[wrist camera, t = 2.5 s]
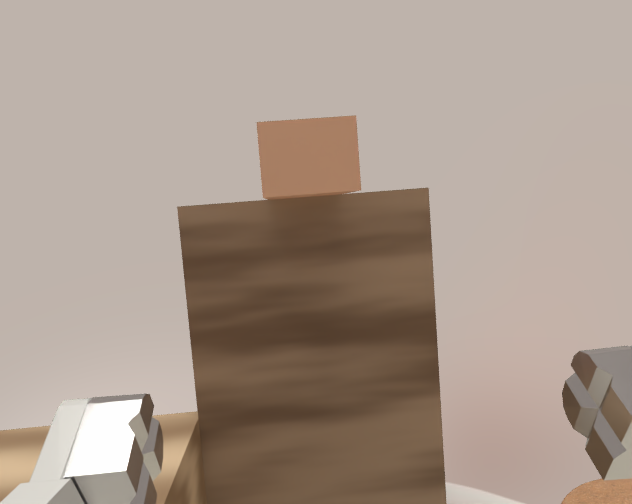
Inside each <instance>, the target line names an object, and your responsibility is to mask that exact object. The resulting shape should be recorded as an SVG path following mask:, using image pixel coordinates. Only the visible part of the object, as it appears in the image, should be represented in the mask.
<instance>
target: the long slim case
mask: <svg viewBox="0 0 632 504" xmlns="http://www.w3.org/2000/svg"><path fill="white" fill-rule="evenodd" d="M257 132H258V144H259V156H260V167H261V180H262V190H263V198H265V199H268V200H274V199H287V198H300V197H313V196H326V195H339V194H345V193H350V192H355V191H359V190H361V181H360V166H359V151H358V137H357V123H356V116H342V117H329V118H328V117H327V118H312V119H298V120H282V121H267V122H257Z"/></svg>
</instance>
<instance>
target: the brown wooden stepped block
mask: <svg viewBox="0 0 632 504" xmlns="http://www.w3.org/2000/svg"><path fill="white" fill-rule="evenodd" d="M177 208H178V219H179V228H180V237H181V249H182V257H183V258H182V259H183V269H184V279H185V289H186V299H187V309H188V319H189V329H190V339H191V348H192V359H193V369H194V379H195V389H196V399H197V408H198V411H197V412H187V413H176V414H167V415H156V416H152V417H153V418H155V419H156V420H158V421H159V422H160V426H161V429H162V434H163V462H162V469H161V472H160V474H159V475H158V476H157V477H156V478H155V479H154V481H153V484H154V487H155V489H156V492H157V500H156V504H446V489H445V472H444V455H443V437H442V419H441V401H440V384H439V366H438V348H437V331H436V315H435V314H436V313H435V296H434V278H433V261H432V243H431V225H430V207H429V189H428V188H419V189H406V190H392V191H380V192H366V193H352V194H339V195H326V196H313V197H300V198H287V199H274V200H261V201H248V202H235V203H221V204H209V205H194V206H181V207H177ZM49 429H50V426H43V427H32V428H22V429H11V430H3V431H0V502H1V501H2V500H3V499H4V498H5V497H6V496H7V495H9V494H10V493H11V492H12V491H13V490H14V489H15V488H16V487H17V486H18V485H19V484H20V483H27V482H29V481H30V478H31V476H32V473H33V471H34V468H35V465H36V463H37V460H38V458H39V455H40V452H41V450H42V447H43V445H44V442H45V439H46V437H47V434H48V432H49Z"/></svg>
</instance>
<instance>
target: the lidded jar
mask: <svg viewBox="0 0 632 504" xmlns="http://www.w3.org/2000/svg"><path fill="white" fill-rule="evenodd" d="M561 504H632V478H630V479H618V480H605V481H604V480H603V479H599V480H594V481H591V482H588V483H585V484H582V485H580V486H578V487H577V488H575V489H574V490H572V491H571V492H570V493H569V494H568V495H567V496H566V497H565V498H564V500H563V501H562V503H561Z"/></svg>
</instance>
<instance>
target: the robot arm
mask: <svg viewBox="0 0 632 504" xmlns="http://www.w3.org/2000/svg"><path fill="white" fill-rule="evenodd" d="M571 366H572V367H573V369H574V371H575V373H574V374H573V375H572V376H571V377H570V378H568V379H567V380H566V381H565V384H564V388H563V392H562V397H563V407H564V410H565V412H566V415H567V418H568V420H569V422H570V423H571V425H572V427H573V429H575V430H576V431H578V432H579V433H581V434H582V435H584V436H585V437H587V442H586V448H585V450H586V451H587V453H588V455H589V456H590V458H591V460H592V461H593V463H594V465H595V466H596V468H597V470H598V471H599V473H600V475H601V476H602V479H603V480H604V481H605V480H618V479H630V478H632V346H621V347H612V348H603V349H595V350H594V349H593V350H584V351H579V352H578V353H577V354H576V355H574V358H573V360H572V363H571ZM153 408H154V405H153V402H152V400H151V397H150V394H136V395H122V396H107V397H95V398H94V397H93V398H84V399H72V400H64V401H63V402H62V403H61V405H60V406H59V407H58V409H57V411H56V414H55V416H54V419H53V421H52V424H51V426H50V429H49V432H48V434H47V437H46V439H45V442H44V445H43V447H42V450H41V452H40V455H39V458H38V460H37V463H36V465H35V468H34V471H33V473H32V476H31V478H30V481H29V482H27V483H20V484H19V485H18V486H17V487H16V488H15V489H14V490H13V491H12V492H11V493H10V494H9V495H7V496H6V497H5V498H4V499H3V500H2V501H1V502H0V504H156V500H157V492H156V489H155V487H154V484H153V481H154V479H155V478H156V477H157V476H158V475H159V474H160V472H161V469H162V462H163V434H162V429H161V426H160V422H159V421H158V420H156V419H155V418H153V417H152V413H153Z"/></svg>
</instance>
